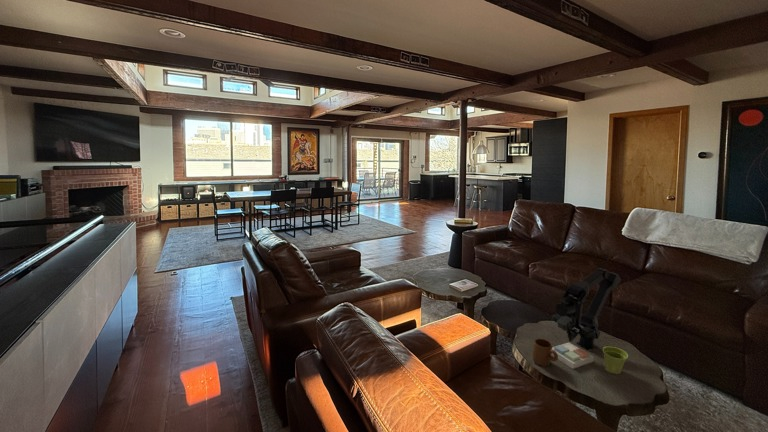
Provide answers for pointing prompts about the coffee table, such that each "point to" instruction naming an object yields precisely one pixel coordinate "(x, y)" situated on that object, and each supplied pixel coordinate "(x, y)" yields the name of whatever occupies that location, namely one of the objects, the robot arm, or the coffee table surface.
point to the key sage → (572, 356)
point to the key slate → (561, 349)
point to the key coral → (581, 353)
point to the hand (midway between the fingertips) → (570, 341)
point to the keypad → (575, 363)
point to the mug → (543, 352)
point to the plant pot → (614, 359)
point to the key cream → (570, 347)
